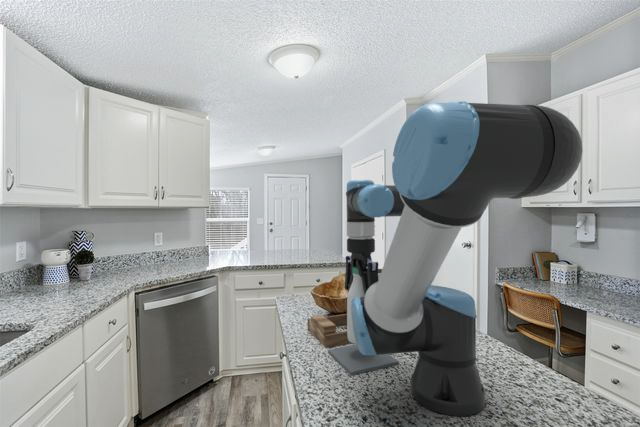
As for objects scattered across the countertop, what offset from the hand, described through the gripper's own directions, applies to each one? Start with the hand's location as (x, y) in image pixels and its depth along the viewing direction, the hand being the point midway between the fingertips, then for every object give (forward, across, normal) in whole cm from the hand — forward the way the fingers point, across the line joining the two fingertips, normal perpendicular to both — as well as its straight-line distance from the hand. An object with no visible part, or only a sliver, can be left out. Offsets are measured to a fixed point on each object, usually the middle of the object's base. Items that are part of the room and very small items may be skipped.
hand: (361, 321), depth 91 cm
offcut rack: (+10, +18, -2) cm, 21 cm away
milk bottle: (+5, 0, 0) cm, 5 cm away
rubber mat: (+10, 0, 0) cm, 10 cm away
